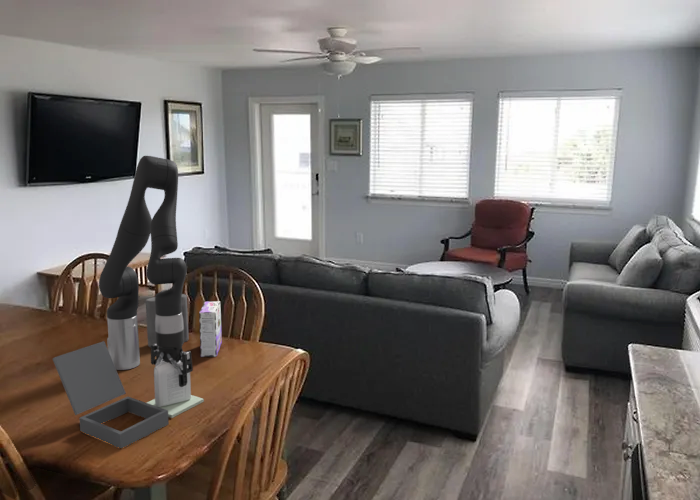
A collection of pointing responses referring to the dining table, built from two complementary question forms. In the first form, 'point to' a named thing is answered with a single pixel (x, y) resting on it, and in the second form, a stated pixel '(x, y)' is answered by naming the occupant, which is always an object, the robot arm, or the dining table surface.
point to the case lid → (89, 377)
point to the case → (120, 439)
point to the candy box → (210, 329)
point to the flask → (152, 315)
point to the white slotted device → (169, 385)
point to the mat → (180, 406)
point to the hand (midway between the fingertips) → (172, 382)
